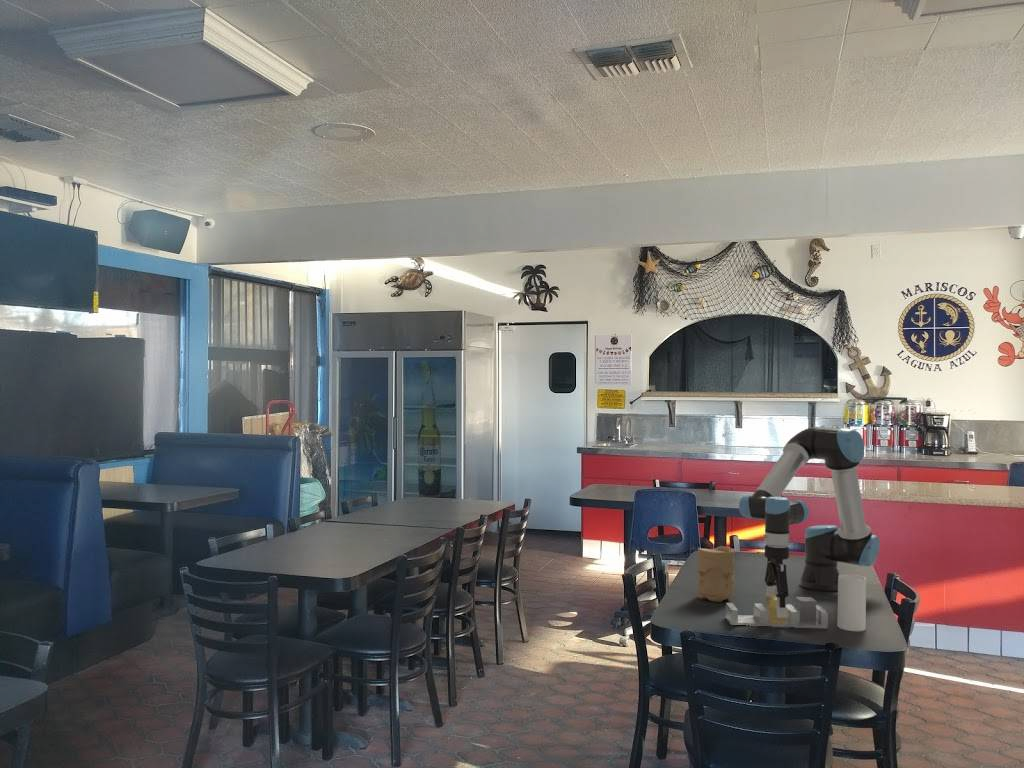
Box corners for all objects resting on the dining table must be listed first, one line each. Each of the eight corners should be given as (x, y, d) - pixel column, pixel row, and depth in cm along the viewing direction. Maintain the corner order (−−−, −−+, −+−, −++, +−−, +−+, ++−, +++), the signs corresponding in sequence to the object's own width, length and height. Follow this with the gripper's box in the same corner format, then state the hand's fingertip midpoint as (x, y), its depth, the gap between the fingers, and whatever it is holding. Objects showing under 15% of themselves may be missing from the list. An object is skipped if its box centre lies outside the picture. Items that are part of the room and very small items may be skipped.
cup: (832, 624, 272) (833, 574, 272) (857, 623, 272) (858, 574, 272) (845, 631, 264) (845, 580, 263) (870, 631, 264) (871, 580, 264)
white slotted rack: (818, 620, 275) (819, 596, 275) (827, 628, 266) (828, 603, 266) (725, 617, 277) (726, 593, 277) (731, 625, 268) (731, 600, 268)
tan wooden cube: (781, 618, 274) (781, 596, 274) (785, 622, 269) (785, 600, 269) (765, 617, 274) (766, 596, 274) (769, 621, 270) (769, 599, 269)
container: (690, 596, 304) (691, 546, 304) (719, 593, 309) (719, 544, 309) (711, 605, 293) (712, 553, 293) (741, 602, 298) (741, 551, 298)
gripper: (756, 538, 284) (755, 601, 284) (774, 553, 260) (773, 622, 260) (778, 538, 284) (777, 601, 284) (799, 553, 259) (798, 622, 259)
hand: (775, 611), depth 272 cm, fingers open, 13 cm apart
